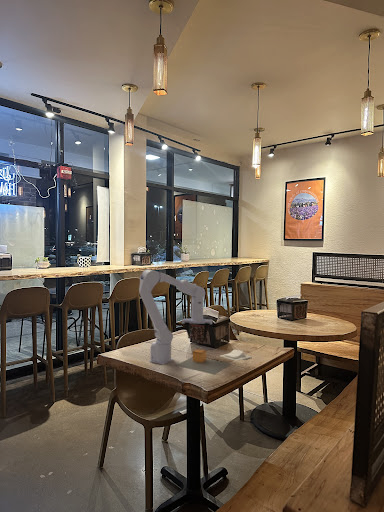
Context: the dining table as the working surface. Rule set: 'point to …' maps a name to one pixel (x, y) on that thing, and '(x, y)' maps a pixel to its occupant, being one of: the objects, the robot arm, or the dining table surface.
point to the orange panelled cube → (199, 355)
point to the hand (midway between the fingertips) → (197, 338)
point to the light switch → (236, 355)
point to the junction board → (204, 365)
